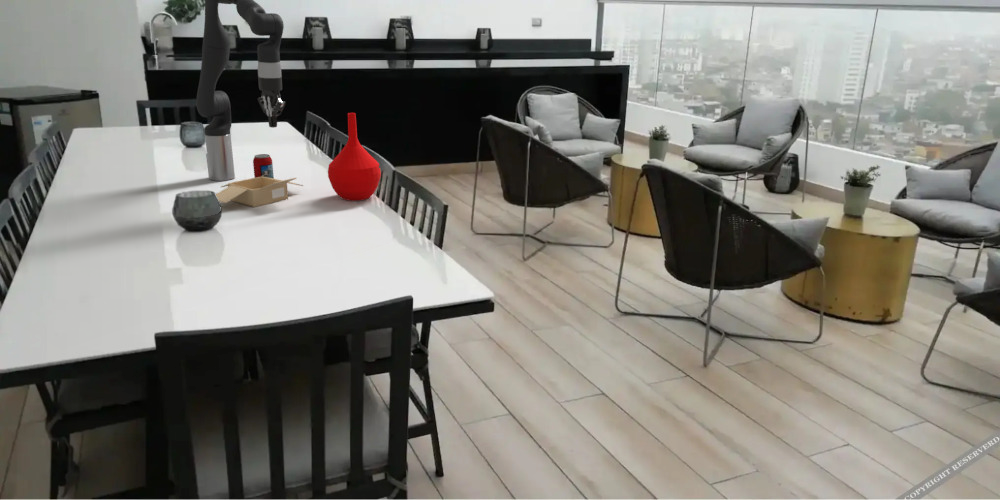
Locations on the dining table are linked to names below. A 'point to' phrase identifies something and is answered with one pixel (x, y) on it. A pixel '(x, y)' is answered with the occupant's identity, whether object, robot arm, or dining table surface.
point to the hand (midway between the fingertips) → (273, 126)
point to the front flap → (278, 183)
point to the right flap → (229, 193)
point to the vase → (354, 168)
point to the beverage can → (263, 166)
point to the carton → (260, 191)
